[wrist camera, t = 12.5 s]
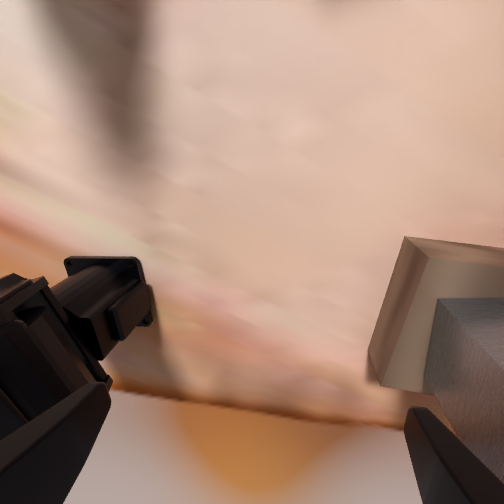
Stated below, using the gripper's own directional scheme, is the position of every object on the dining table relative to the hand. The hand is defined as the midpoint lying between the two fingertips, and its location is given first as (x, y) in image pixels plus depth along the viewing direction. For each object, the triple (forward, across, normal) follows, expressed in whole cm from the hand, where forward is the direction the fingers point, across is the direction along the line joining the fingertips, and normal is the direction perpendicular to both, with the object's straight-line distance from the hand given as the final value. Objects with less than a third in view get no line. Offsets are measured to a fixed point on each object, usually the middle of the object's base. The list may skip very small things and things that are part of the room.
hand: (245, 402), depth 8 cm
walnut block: (+14, -13, +5) cm, 20 cm away
